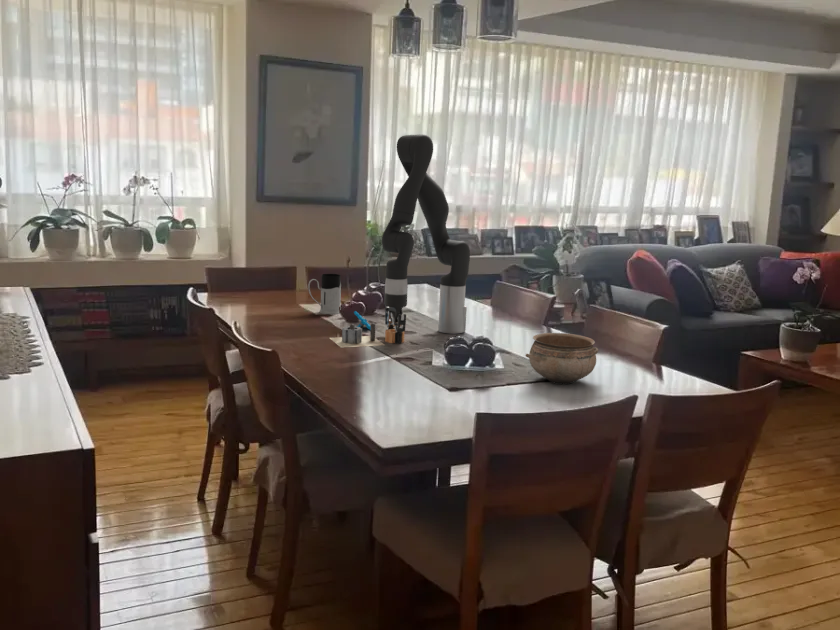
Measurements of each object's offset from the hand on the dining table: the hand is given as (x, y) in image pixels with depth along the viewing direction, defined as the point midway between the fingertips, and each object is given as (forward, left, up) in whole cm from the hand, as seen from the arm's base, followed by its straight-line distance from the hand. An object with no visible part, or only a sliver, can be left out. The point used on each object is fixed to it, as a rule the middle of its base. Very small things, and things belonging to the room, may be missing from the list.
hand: (394, 340), depth 255 cm
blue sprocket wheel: (+4, -21, -2) cm, 22 cm away
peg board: (+13, -2, -1) cm, 13 cm away
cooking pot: (-31, +53, -1) cm, 62 cm away
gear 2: (0, 0, -1) cm, 1 cm away
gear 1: (+14, -2, 0) cm, 14 cm away
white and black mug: (+9, -58, -1) cm, 59 cm away
